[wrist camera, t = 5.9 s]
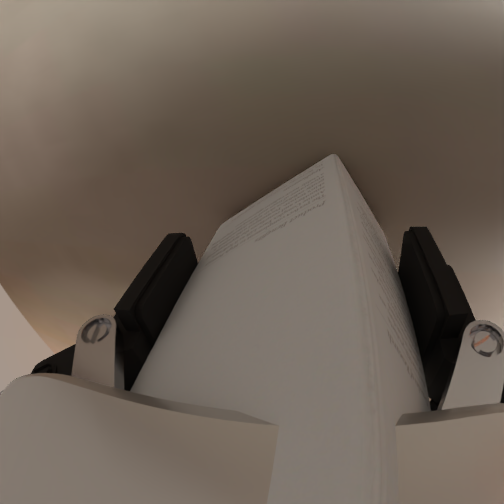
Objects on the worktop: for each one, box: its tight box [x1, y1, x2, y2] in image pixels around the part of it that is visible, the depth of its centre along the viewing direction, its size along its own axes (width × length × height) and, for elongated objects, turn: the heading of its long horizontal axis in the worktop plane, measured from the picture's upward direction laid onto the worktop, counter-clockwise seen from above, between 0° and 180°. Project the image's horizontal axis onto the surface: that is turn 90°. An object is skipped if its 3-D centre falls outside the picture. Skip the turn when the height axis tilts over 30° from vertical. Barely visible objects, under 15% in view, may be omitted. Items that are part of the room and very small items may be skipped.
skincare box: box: [130, 154, 431, 504], centre depth 8 cm, size 6×4×12 cm
